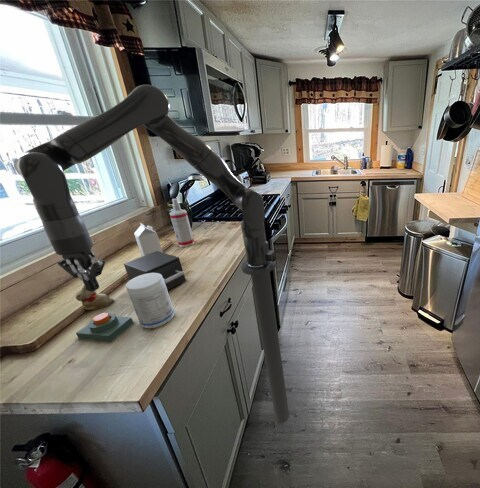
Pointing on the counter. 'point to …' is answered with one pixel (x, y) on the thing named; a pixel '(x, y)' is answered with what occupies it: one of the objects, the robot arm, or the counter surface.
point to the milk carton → (147, 240)
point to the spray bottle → (181, 225)
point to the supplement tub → (150, 300)
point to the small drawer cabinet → (148, 264)
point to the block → (105, 329)
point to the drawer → (171, 274)
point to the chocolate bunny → (92, 299)
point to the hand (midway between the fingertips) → (93, 289)
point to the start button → (101, 318)
